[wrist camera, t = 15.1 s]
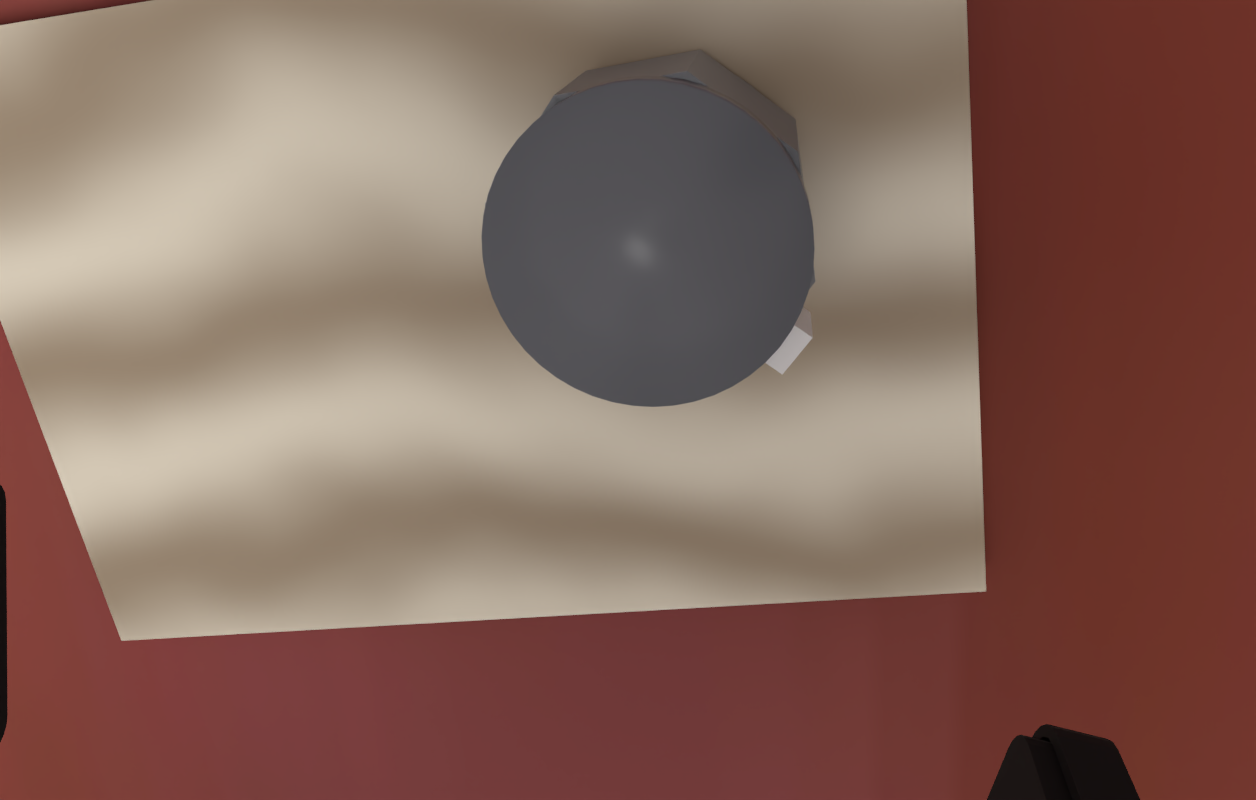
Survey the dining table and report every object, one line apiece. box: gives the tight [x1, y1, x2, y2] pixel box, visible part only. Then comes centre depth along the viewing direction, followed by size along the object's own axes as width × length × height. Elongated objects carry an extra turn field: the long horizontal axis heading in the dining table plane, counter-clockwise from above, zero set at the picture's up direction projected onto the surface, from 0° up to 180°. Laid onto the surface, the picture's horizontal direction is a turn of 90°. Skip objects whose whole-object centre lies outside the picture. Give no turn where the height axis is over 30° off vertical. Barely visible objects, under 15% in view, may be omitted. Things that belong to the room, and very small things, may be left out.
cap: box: [481, 49, 816, 407], centre depth 24 cm, size 7×7×5 cm
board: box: [0, 0, 986, 641], centre depth 28 cm, size 18×26×6 cm
